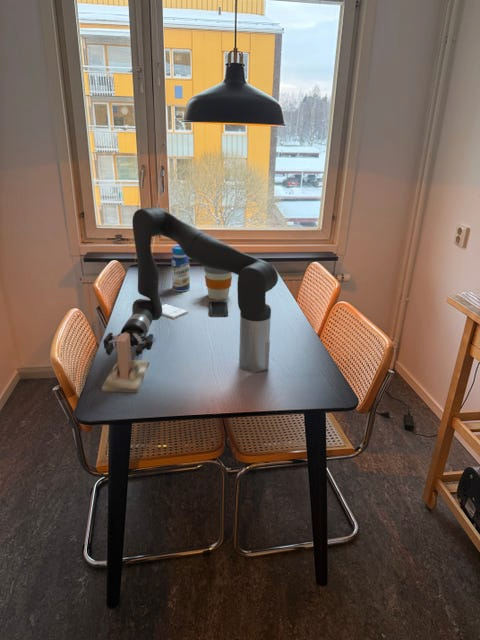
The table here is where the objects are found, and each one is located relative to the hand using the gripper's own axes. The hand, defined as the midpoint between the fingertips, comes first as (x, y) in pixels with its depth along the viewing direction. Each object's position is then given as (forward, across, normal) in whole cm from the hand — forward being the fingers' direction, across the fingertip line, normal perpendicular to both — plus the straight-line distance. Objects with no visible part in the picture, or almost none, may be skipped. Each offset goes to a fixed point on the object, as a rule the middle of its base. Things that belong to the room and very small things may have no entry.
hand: (122, 352), depth 122 cm
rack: (-2, 0, +9) cm, 9 cm away
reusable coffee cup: (-73, +23, +9) cm, 77 cm away
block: (-2, 0, +8) cm, 8 cm away
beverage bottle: (-81, +5, +9) cm, 82 cm away
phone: (-57, +24, +10) cm, 63 cm away
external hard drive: (-53, +4, +10) cm, 54 cm away
